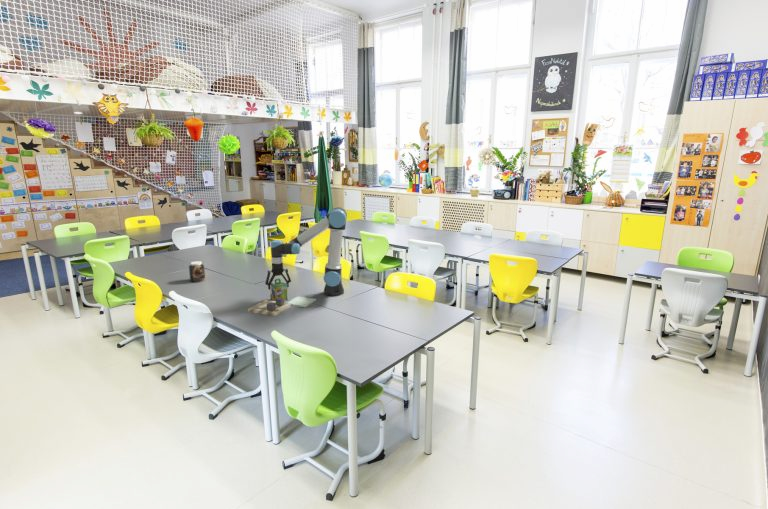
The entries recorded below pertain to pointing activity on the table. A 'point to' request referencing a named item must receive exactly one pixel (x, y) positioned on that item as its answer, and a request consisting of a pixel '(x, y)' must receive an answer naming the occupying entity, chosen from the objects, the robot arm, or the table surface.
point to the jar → (197, 271)
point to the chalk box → (278, 290)
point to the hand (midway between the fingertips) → (278, 292)
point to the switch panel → (262, 309)
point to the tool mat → (301, 301)
